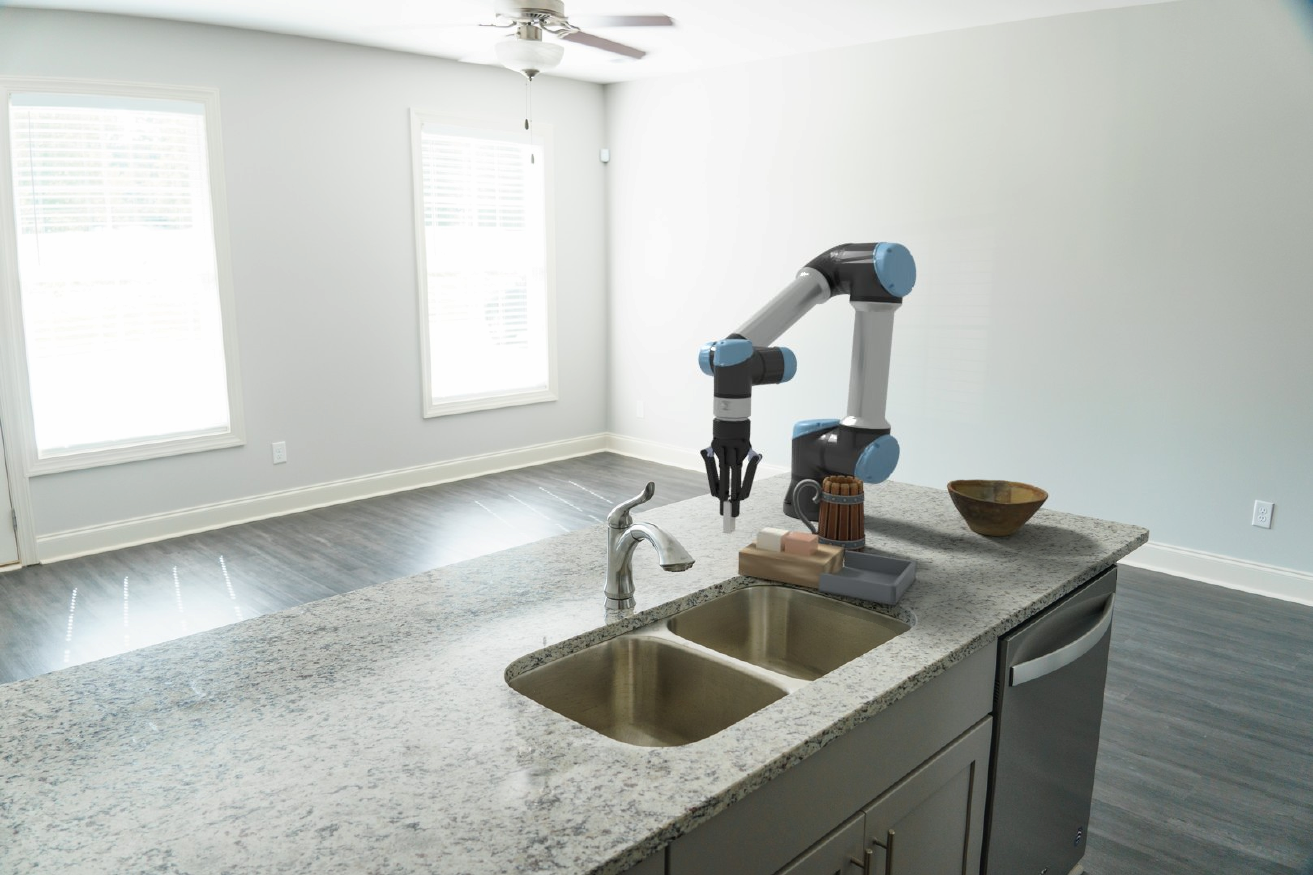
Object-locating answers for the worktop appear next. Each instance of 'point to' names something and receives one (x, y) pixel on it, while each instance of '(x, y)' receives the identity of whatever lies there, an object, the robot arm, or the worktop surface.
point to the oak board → (790, 564)
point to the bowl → (995, 504)
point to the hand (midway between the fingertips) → (729, 531)
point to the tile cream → (772, 539)
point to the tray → (870, 578)
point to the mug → (837, 512)
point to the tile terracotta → (801, 543)
